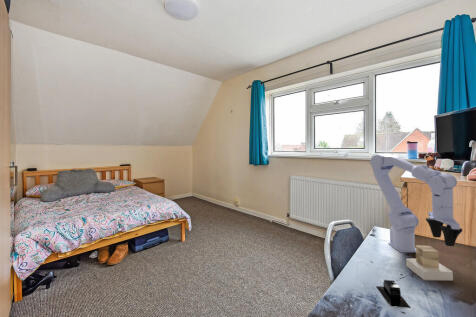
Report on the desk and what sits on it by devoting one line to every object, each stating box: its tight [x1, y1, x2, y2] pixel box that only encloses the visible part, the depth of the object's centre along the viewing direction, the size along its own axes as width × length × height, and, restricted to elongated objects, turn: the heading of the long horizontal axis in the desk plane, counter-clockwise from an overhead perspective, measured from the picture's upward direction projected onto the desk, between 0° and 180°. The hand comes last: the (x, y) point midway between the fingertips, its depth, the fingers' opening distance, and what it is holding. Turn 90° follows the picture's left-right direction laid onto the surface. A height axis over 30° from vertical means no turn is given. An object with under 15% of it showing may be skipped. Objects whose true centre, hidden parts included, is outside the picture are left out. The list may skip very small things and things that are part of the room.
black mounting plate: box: [375, 279, 411, 309], centre depth 67 cm, size 12×7×5 cm, turn 170°
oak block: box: [415, 244, 440, 268], centre depth 77 cm, size 4×4×6 cm
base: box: [405, 257, 454, 281], centre depth 78 cm, size 9×9×3 cm
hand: (442, 241), depth 81 cm, fingers open, 7 cm apart
